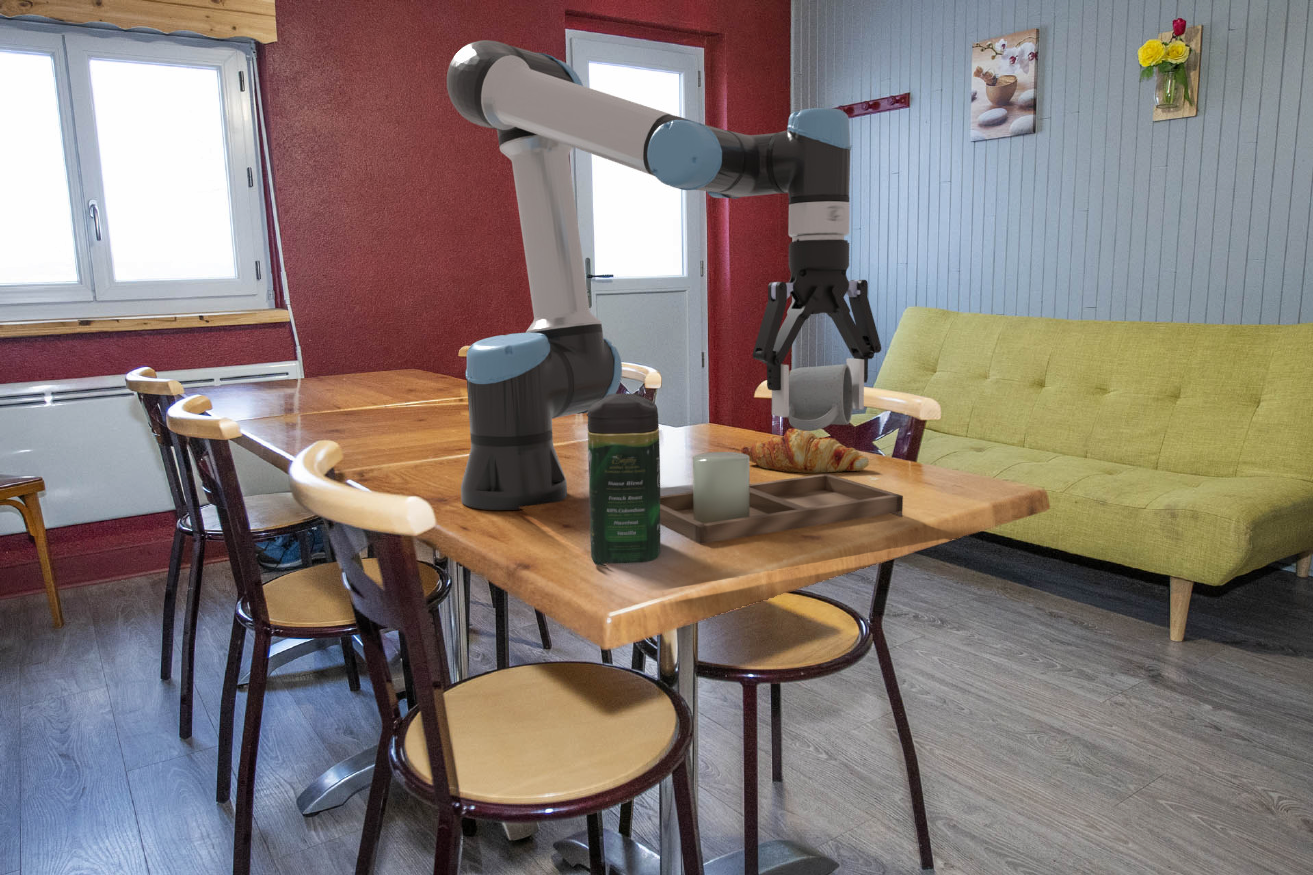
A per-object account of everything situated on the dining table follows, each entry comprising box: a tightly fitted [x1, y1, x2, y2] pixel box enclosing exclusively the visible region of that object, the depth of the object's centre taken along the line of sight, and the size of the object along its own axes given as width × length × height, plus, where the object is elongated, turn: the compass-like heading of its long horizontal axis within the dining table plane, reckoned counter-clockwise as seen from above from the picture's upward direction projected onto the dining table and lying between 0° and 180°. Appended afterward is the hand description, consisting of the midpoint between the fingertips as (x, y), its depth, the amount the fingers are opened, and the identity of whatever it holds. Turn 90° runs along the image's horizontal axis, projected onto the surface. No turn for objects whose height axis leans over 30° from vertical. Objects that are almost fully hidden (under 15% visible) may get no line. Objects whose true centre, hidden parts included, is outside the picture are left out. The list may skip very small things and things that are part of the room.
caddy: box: [660, 473, 904, 545], centre depth 120 cm, size 30×16×3 cm, turn 116°
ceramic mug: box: [786, 363, 853, 432], centre depth 120 cm, size 11×8×8 cm
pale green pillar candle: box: [692, 451, 751, 524], centre depth 116 cm, size 7×7×8 cm
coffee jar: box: [586, 393, 662, 567], centre depth 103 cm, size 10×8×19 cm
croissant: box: [740, 427, 870, 474], centre depth 152 cm, size 21×10×8 cm, turn 68°
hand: (818, 412), depth 121 cm, fingers closed on ceramic mug, 11 cm apart
